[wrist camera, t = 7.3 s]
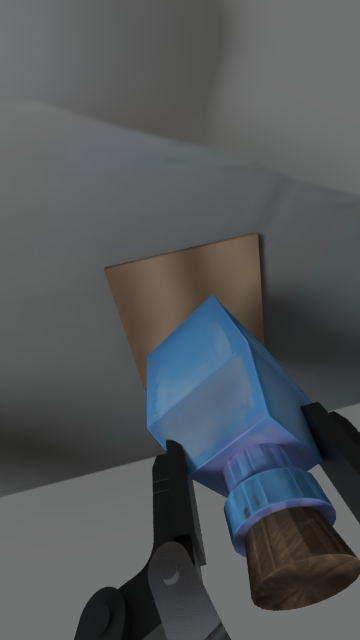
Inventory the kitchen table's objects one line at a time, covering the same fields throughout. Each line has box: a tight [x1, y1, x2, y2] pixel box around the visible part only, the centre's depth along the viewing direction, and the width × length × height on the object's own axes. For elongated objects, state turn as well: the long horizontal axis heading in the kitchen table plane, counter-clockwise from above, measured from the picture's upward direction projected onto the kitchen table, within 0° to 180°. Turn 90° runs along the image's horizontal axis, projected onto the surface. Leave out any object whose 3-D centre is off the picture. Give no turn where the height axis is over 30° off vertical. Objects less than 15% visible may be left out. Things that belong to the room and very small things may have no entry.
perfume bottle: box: [147, 295, 360, 611], centre depth 12 cm, size 6×6×12 cm
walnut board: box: [104, 233, 265, 390], centre depth 23 cm, size 13×13×1 cm
